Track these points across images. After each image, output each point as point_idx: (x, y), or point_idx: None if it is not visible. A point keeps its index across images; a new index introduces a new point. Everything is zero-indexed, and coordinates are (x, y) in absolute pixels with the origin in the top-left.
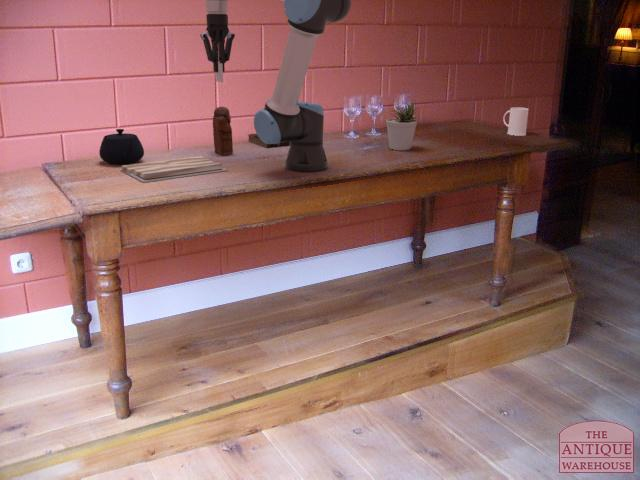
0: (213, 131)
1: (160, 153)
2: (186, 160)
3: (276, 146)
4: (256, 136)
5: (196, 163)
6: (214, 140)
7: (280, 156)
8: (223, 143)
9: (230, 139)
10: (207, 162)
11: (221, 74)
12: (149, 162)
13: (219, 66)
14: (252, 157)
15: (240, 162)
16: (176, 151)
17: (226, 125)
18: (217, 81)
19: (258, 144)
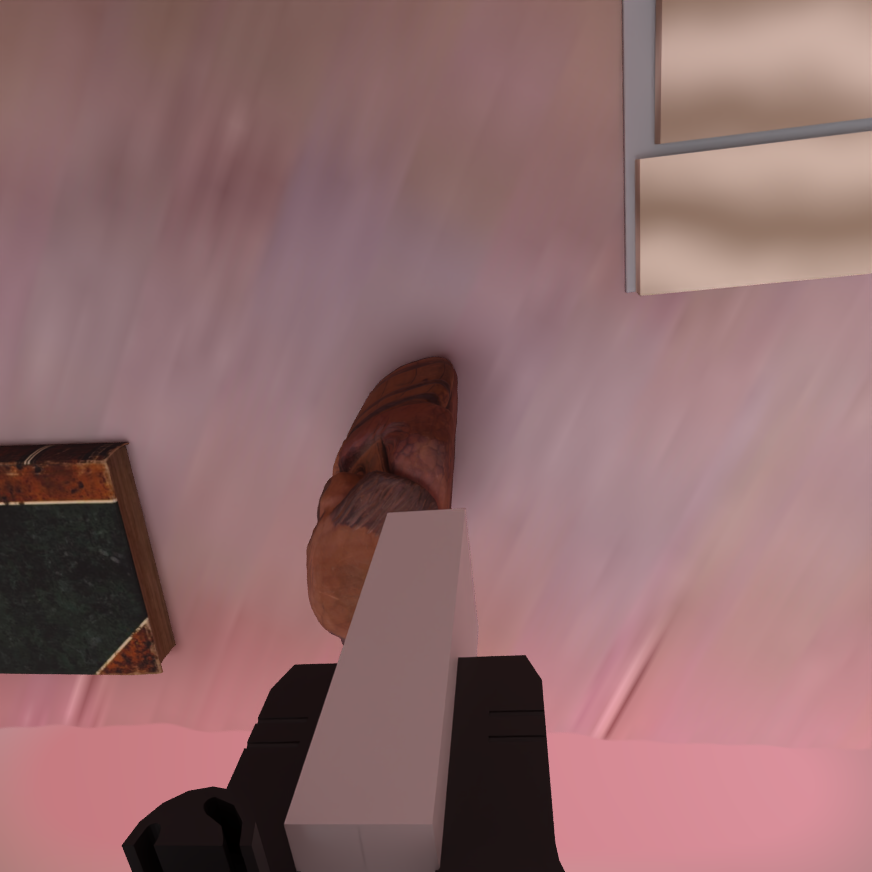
0: None
1: (743, 584)
2: (794, 197)
3: (64, 445)
4: (128, 603)
5: (796, 42)
6: (450, 501)
7: (116, 177)
8: (440, 373)
9: (373, 404)
10: (710, 37)
11: (394, 593)
12: None
13: (419, 736)
14: (296, 233)
15: (424, 118)
16: (639, 592)
17: (388, 431)
18: (472, 577)
19: (148, 544)
